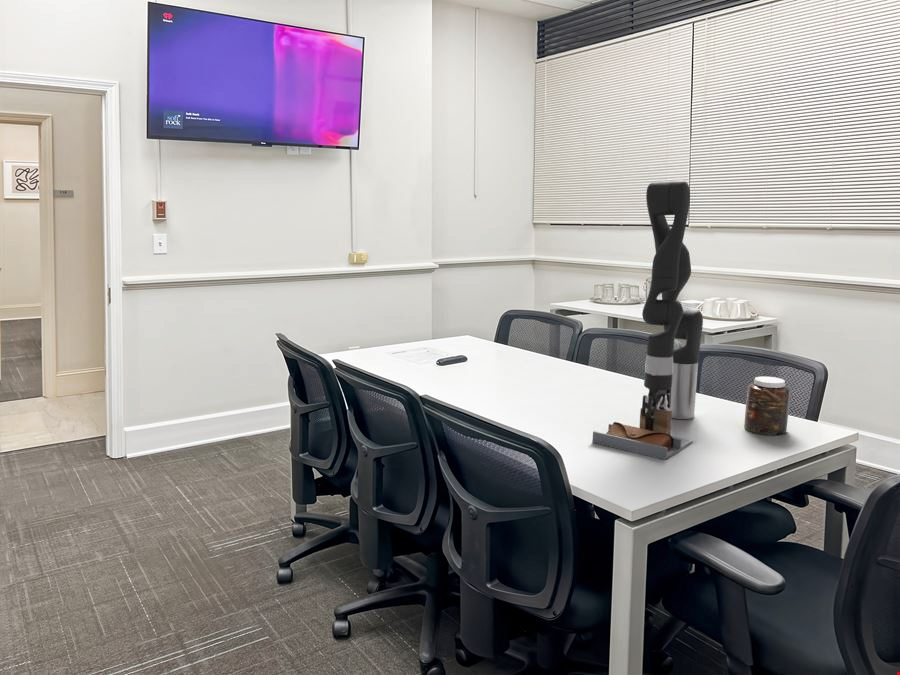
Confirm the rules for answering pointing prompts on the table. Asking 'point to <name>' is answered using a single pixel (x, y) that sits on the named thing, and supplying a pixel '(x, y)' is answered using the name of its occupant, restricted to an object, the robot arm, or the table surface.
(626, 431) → the sunglasses case
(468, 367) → the table surface
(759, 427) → the jar
